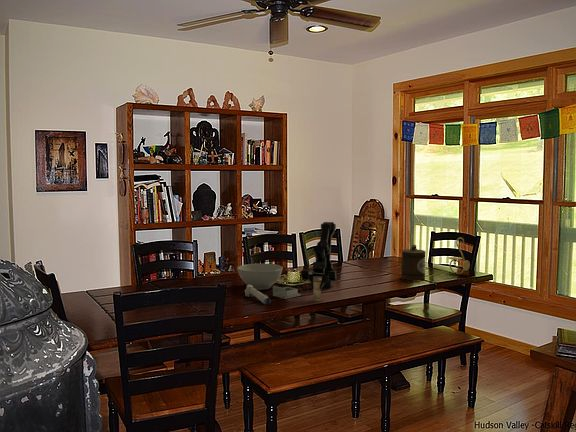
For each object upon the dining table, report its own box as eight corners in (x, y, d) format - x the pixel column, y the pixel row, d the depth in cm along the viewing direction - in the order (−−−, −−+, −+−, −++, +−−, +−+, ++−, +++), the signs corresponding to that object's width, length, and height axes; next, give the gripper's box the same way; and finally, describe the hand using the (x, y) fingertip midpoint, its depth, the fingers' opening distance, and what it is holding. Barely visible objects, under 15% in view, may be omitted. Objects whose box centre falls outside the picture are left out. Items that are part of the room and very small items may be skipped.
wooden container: (424, 281, 317) (424, 246, 315) (400, 280, 322) (400, 245, 320) (425, 277, 331) (426, 243, 329) (402, 275, 336) (403, 242, 334)
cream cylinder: (315, 298, 273) (315, 276, 272) (322, 299, 271) (322, 277, 270) (311, 300, 270) (311, 278, 269) (318, 301, 268) (318, 279, 267)
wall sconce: (470, 275, 338) (471, 237, 336) (461, 276, 333) (462, 238, 331) (453, 271, 349) (454, 235, 347) (444, 273, 344) (445, 236, 342)
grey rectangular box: (288, 292, 289) (288, 282, 288) (301, 295, 281) (301, 285, 281) (272, 295, 280) (272, 285, 280) (285, 299, 273) (285, 288, 273)
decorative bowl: (291, 285, 306) (291, 265, 305) (266, 294, 283) (266, 273, 282) (254, 281, 320) (254, 262, 319) (228, 289, 297) (228, 268, 296)
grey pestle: (263, 298, 260) (243, 282, 281) (262, 310, 261) (242, 294, 282) (272, 297, 262) (251, 281, 284) (271, 309, 264) (251, 293, 285)
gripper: (301, 255, 275) (297, 279, 265) (335, 256, 270) (332, 281, 261) (304, 266, 283) (300, 290, 273) (337, 268, 279) (334, 292, 269)
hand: (316, 288), depth 269 cm, fingers closed on cream cylinder, 4 cm apart
